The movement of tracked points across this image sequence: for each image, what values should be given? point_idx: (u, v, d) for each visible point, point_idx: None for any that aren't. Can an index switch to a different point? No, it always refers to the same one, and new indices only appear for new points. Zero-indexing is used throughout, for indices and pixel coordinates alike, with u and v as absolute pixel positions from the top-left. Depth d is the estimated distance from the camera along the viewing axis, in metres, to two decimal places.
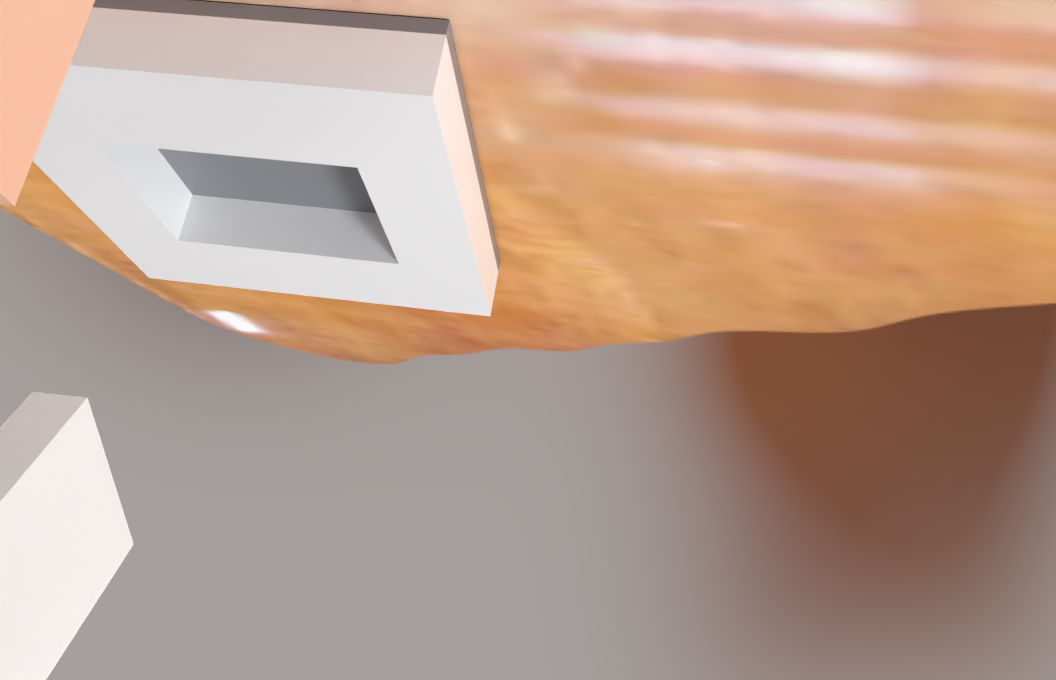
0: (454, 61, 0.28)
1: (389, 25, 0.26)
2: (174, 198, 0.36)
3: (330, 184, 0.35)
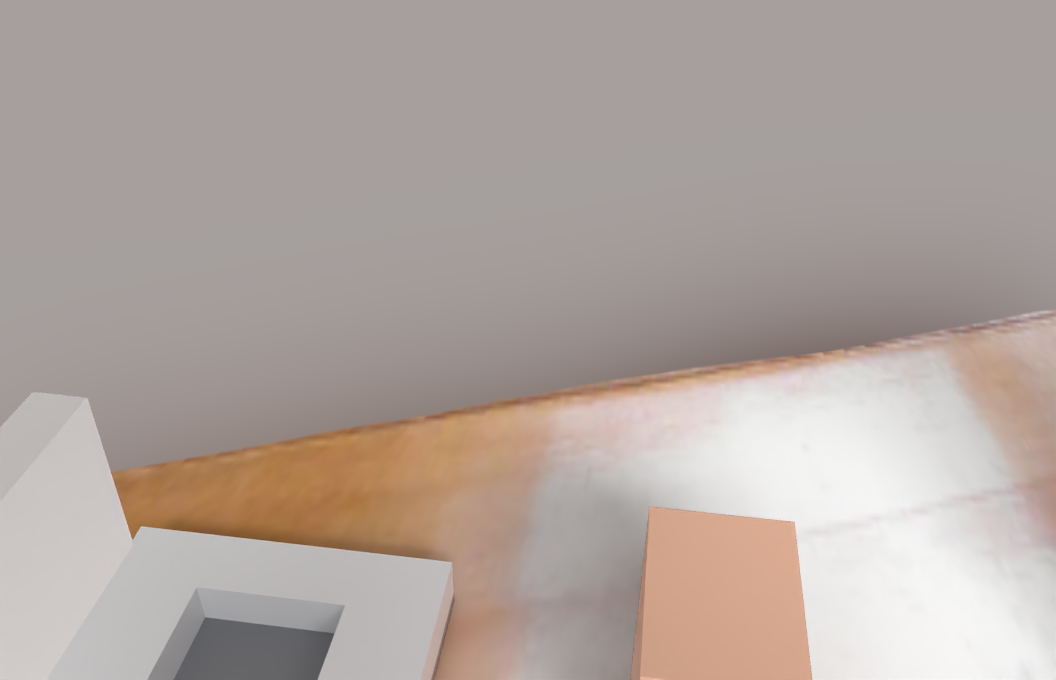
0: None
1: None
2: (226, 607, 0.42)
3: None
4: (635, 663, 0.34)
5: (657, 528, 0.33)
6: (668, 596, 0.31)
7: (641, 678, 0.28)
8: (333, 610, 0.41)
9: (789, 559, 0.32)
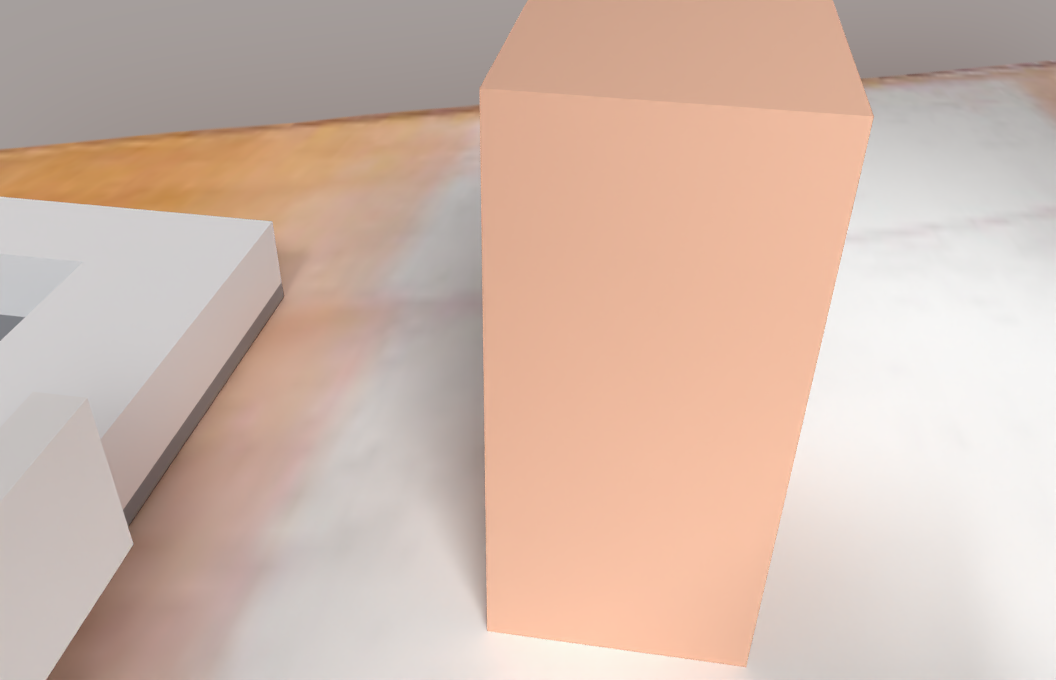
0: None
1: None
2: None
3: None
4: None
5: None
6: (566, 20, 0.15)
7: (483, 95, 0.13)
8: (67, 274, 0.26)
9: None
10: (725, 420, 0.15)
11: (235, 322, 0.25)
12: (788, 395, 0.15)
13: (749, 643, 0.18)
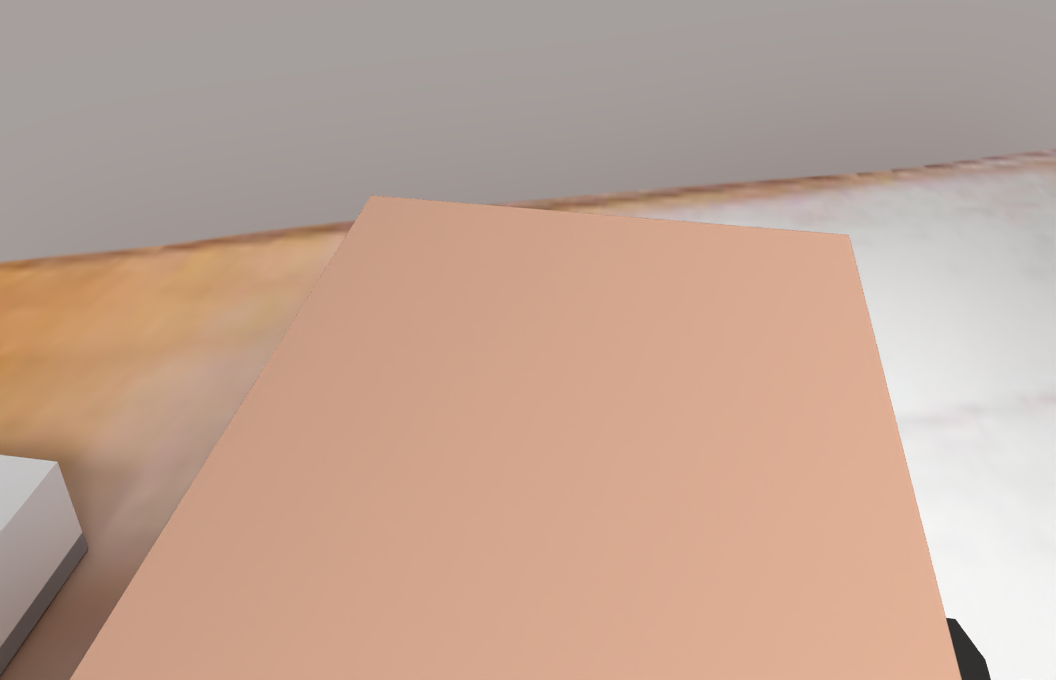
0: None
1: None
2: None
3: None
4: None
5: (372, 242, 0.10)
6: (323, 438, 0.07)
7: None
8: None
9: (837, 329, 0.08)
10: None
11: None
12: None
13: None
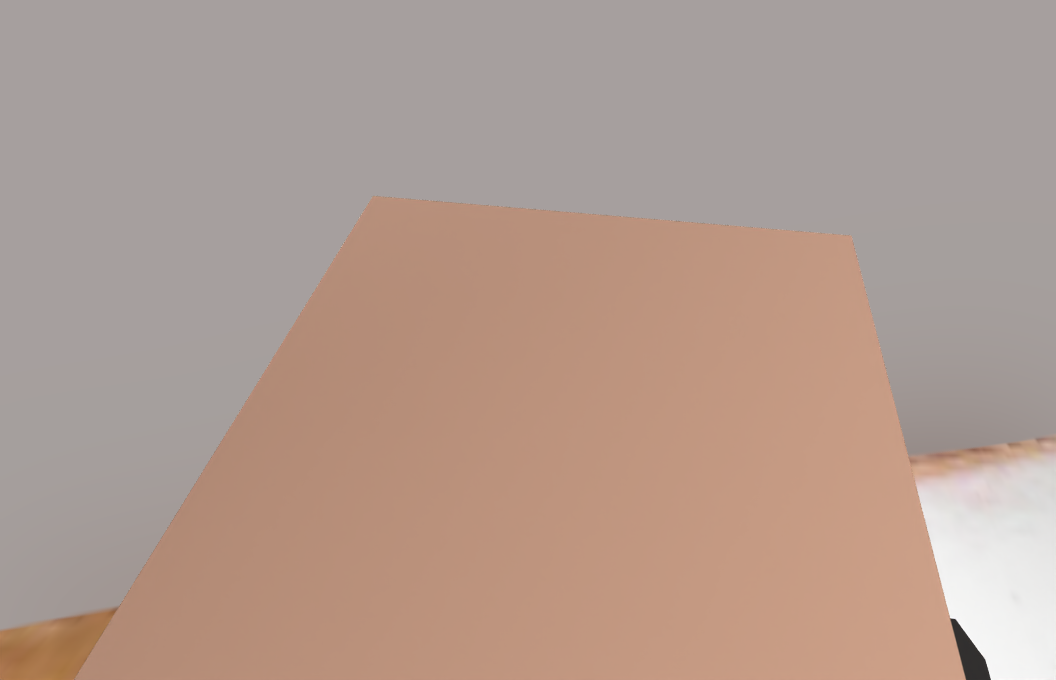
0: None
1: None
2: None
3: None
4: None
5: (374, 243, 0.10)
6: (327, 438, 0.07)
7: None
8: None
9: (840, 329, 0.08)
10: None
11: None
12: None
13: None
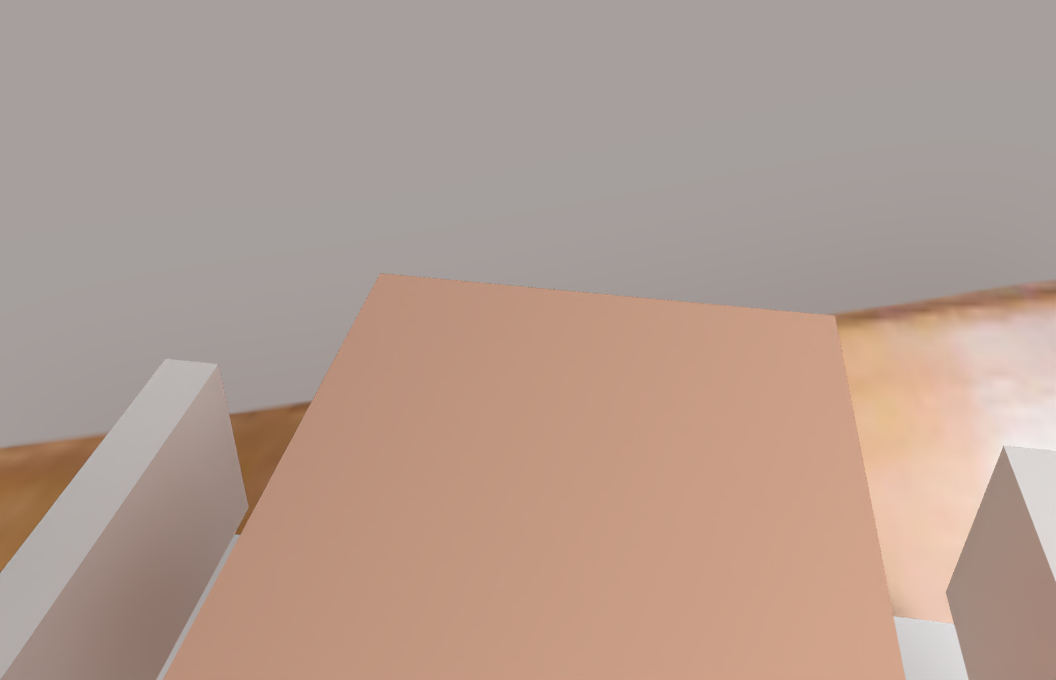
0: None
1: None
2: None
3: None
4: None
5: (381, 324, 0.10)
6: (338, 533, 0.08)
7: None
8: None
9: (821, 416, 0.09)
10: None
11: None
12: None
13: None
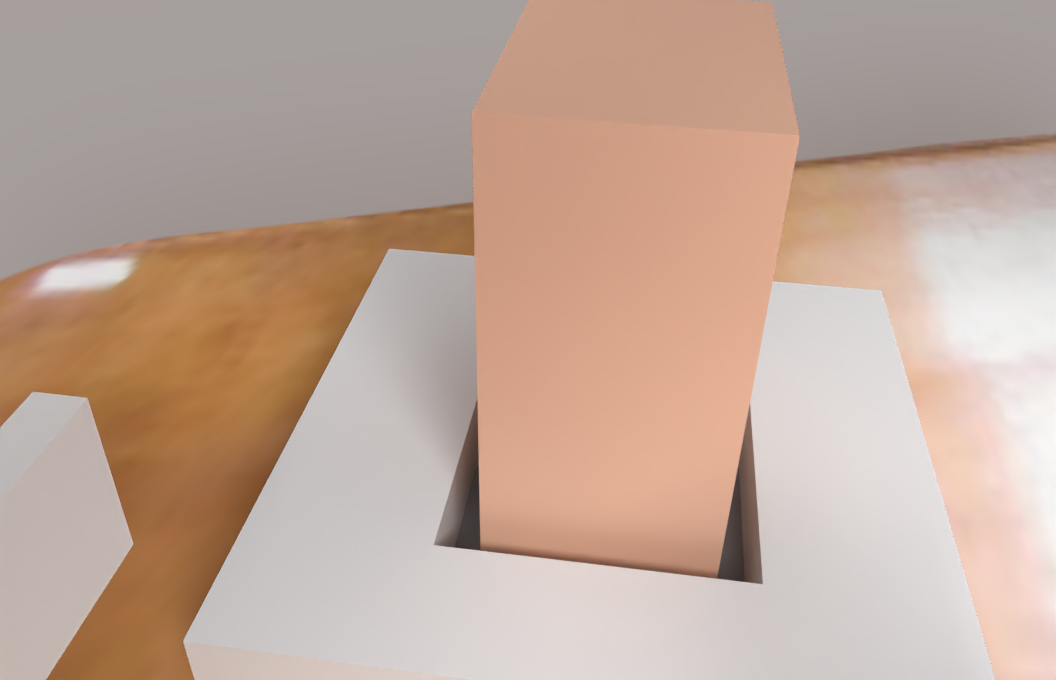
0: None
1: None
2: None
3: None
4: None
5: (542, 2, 0.20)
6: (546, 50, 0.17)
7: (474, 118, 0.15)
8: None
9: (761, 27, 0.19)
10: (685, 394, 0.18)
11: None
12: (738, 371, 0.17)
13: None
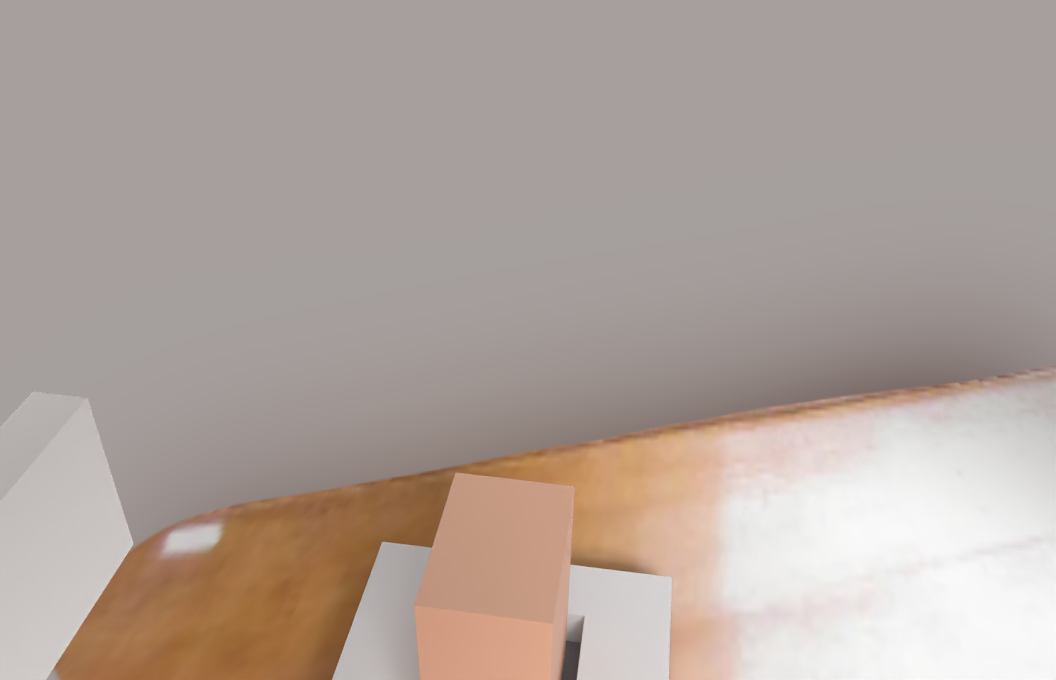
0: None
1: None
2: None
3: None
4: None
5: (457, 489, 0.39)
6: (453, 543, 0.37)
7: (415, 607, 0.35)
8: (572, 620, 0.46)
9: (562, 516, 0.38)
10: None
11: None
12: None
13: None
